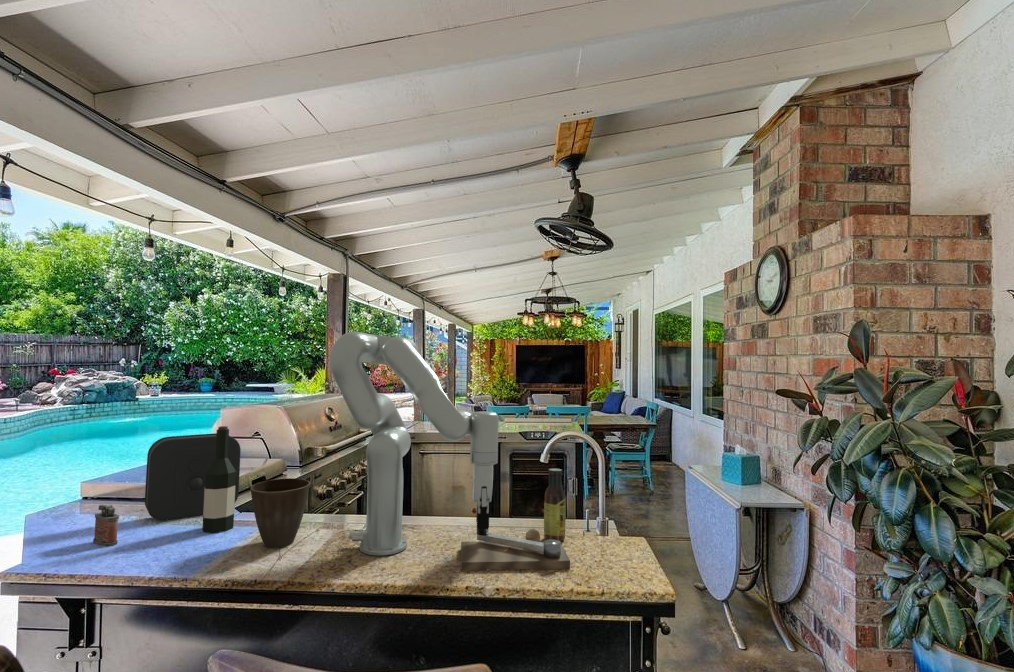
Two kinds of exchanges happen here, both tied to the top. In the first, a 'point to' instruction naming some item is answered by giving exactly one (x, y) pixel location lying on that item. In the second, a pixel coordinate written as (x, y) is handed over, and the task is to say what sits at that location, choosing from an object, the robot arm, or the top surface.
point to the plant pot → (279, 509)
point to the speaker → (182, 474)
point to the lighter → (106, 526)
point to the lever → (522, 542)
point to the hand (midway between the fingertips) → (482, 524)
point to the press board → (508, 556)
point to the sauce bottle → (554, 507)
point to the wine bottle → (219, 488)
